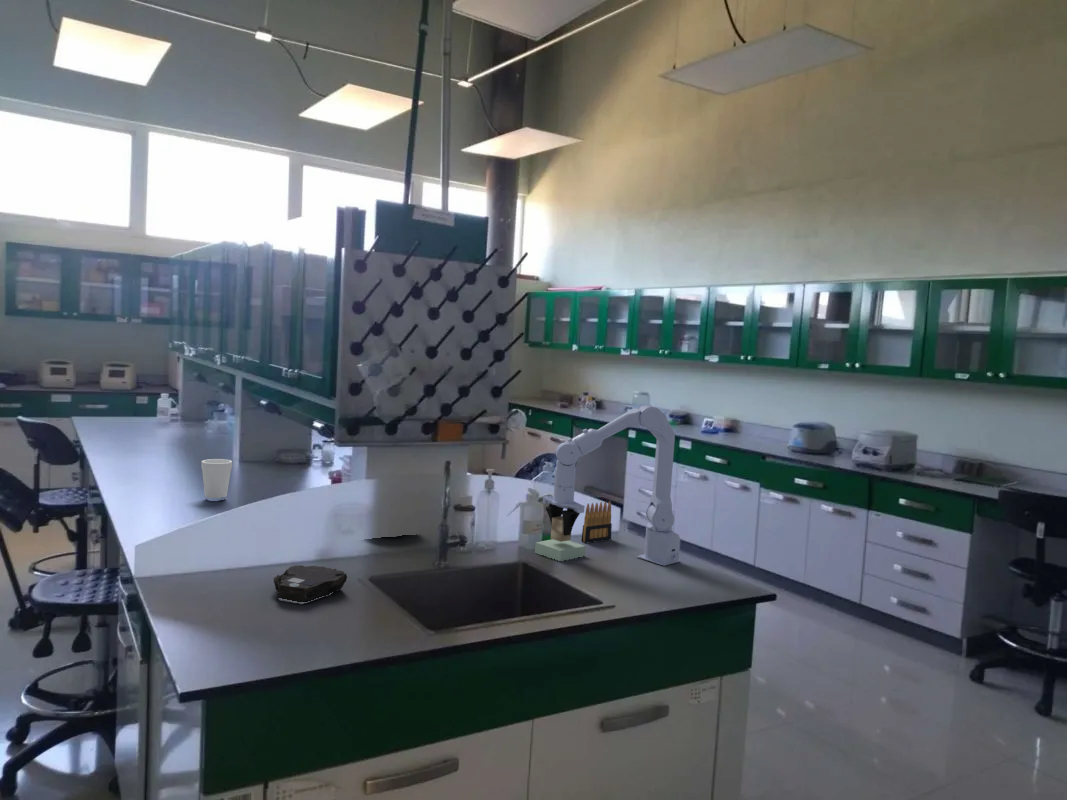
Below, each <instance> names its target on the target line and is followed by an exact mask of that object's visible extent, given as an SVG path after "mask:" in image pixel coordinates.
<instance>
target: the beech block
mask: <svg viewBox="0 0 1067 800" xmlns="http://www.w3.org/2000/svg"><path fill="white" fill-rule="evenodd" d="M563 526H564V523H563V516H562V515H561V516H559V517H553V518H552V527H551V530H550V540H551V539H554V540H557V541H560V542H563V541H568V540H569V541H572V533H571V534H570V535H566V536H565V535H564V532H563Z"/></svg>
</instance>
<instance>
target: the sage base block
mask: <svg viewBox="0 0 1067 800" xmlns="http://www.w3.org/2000/svg"><path fill="white" fill-rule="evenodd" d="M534 547H535V548H534V553H535V554H537V555H541V556H542V555H544V556H543V557H545V556H546V558H548V559H551V558H552V559H551V560H554V559H555V560H554V561H557V560H558V561H557V562H559V561H561V562H565V561H564V560H566V561H569V559H570V560H573V558H575V559H579V558H578V557H580V558H583V556H584V557H586V545H584V544H581V543H578V542H574V541H572V540H568V541H563V542H560V541H557V540H554V539H551V538H550V539H547V540H542V541H536V542H535V545H534Z"/></svg>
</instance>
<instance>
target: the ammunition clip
mask: <svg viewBox="0 0 1067 800" xmlns="http://www.w3.org/2000/svg"><path fill="white" fill-rule="evenodd" d="M584 513H585V514H584V521H583V525H582V532H581V534H582V535H581V541H582V543H583V542H584V544H588V543H587V542H592V543H595V542H594V541H599V542H602V541H601V540H606V541H610V540H609V539H611V540H612V531H613V530H612V527H613V526H612V525H613V523H612V504H611V501H610V500H609V501H608V504H607V501H604V503H603V502H602V501H600V503H599V504H598V502H595V505H594V503H593V502H592V503H591V504H590V503H586V507H585V512H584Z"/></svg>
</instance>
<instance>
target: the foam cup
mask: <svg viewBox="0 0 1067 800" xmlns="http://www.w3.org/2000/svg"><path fill="white" fill-rule="evenodd" d="M200 464H201V465H200V466H201V467H200V468H201V470H202V471H201V472H202V482H203V490H204V498H205V497H208V498H221V497H226V496H227V495H228V490H229V484H230V479H231V474H232V473H231V472H232V469H233V461H232V460H230V459H224V458H211V459H210V458H209V459H204V460H201V463H200ZM226 498H227V497H226Z"/></svg>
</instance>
